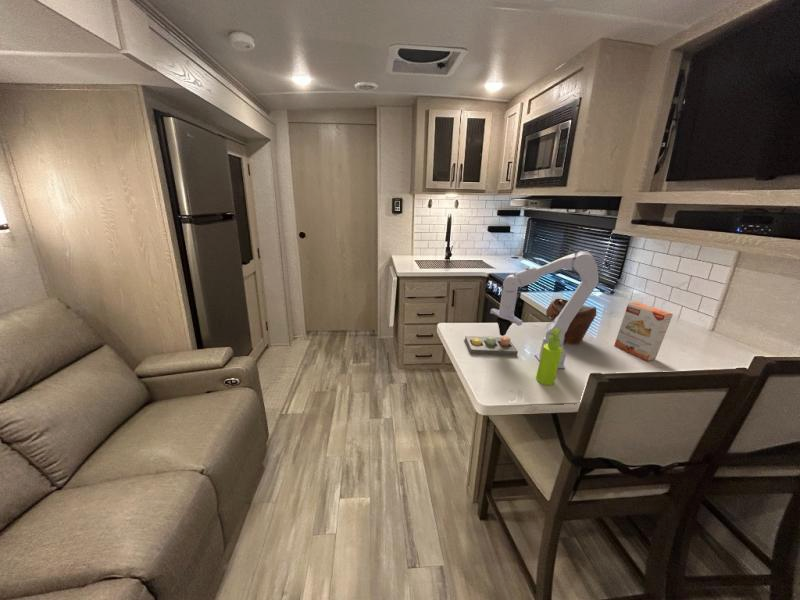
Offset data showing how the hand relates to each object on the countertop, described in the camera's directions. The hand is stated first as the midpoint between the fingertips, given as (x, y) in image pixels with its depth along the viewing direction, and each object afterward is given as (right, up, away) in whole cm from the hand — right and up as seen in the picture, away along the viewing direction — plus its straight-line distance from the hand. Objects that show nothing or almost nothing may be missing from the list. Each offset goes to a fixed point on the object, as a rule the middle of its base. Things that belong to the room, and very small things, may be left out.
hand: (502, 334), depth 126 cm
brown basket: (+34, -3, +15) cm, 38 cm away
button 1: (-11, -5, +2) cm, 12 cm away
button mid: (-5, -4, +2) cm, 6 cm away
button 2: (+1, -4, +2) cm, 5 cm away
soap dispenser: (+8, -14, -19) cm, 25 cm away
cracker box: (+58, -8, +4) cm, 59 cm away
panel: (-5, -6, +2) cm, 8 cm away
